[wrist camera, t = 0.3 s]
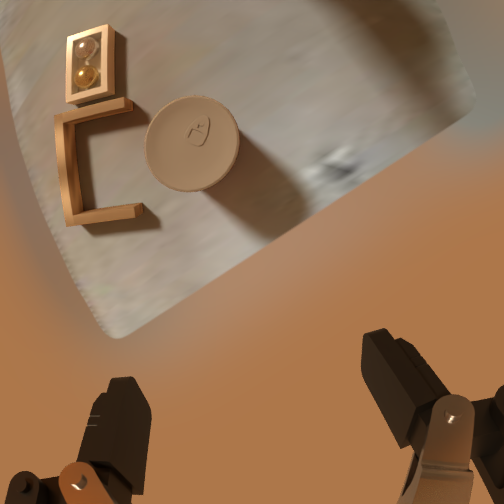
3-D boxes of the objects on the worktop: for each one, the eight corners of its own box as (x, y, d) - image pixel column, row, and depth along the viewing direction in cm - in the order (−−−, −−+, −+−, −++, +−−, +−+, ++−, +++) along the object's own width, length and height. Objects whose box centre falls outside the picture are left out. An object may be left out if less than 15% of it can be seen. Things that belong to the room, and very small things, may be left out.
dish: (76, 42, 28) (67, 37, 26) (114, 30, 28) (108, 23, 26) (75, 105, 31) (65, 102, 29) (114, 94, 31) (107, 91, 29)
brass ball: (81, 71, 29) (70, 66, 26) (102, 65, 29) (92, 59, 26) (81, 93, 30) (70, 89, 27) (103, 87, 30) (92, 83, 27)
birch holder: (66, 117, 31) (54, 115, 28) (132, 101, 31) (124, 96, 29) (77, 221, 35) (66, 226, 32) (143, 212, 35) (135, 217, 33)
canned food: (245, 118, 33) (248, 102, 22) (231, 187, 35) (229, 200, 25) (178, 108, 32) (153, 89, 22) (165, 176, 34) (136, 186, 24)
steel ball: (82, 45, 28) (71, 38, 25) (103, 38, 28) (93, 31, 25) (81, 65, 29) (70, 60, 26) (102, 59, 29) (92, 53, 26)
